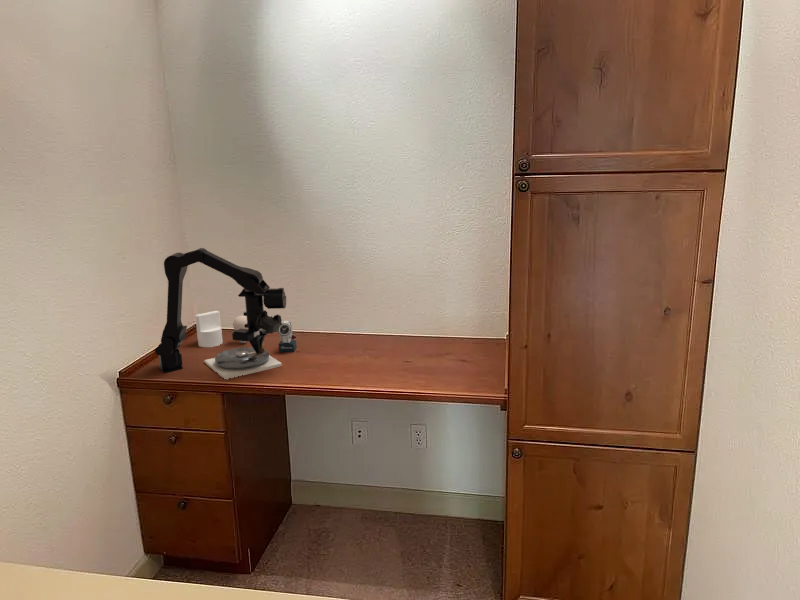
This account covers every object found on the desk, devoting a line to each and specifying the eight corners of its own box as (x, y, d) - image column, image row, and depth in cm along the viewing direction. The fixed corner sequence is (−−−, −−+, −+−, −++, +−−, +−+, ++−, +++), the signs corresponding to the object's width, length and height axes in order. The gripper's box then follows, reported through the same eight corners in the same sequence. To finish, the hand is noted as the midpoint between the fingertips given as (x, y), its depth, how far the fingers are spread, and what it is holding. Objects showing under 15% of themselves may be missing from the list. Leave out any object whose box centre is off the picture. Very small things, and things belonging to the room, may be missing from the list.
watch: (277, 353, 219) (275, 324, 216) (283, 346, 227) (281, 318, 224) (292, 353, 219) (291, 324, 216) (298, 346, 226) (296, 318, 224)
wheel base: (225, 379, 195) (224, 375, 195) (204, 362, 211) (204, 358, 211) (281, 366, 207) (281, 361, 206) (258, 350, 222) (258, 347, 222)
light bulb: (254, 340, 234) (252, 313, 231) (248, 346, 228) (246, 318, 225) (238, 340, 235) (235, 313, 232) (232, 346, 228) (229, 318, 226)
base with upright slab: (204, 348, 226) (201, 318, 223) (194, 343, 232) (191, 313, 229) (226, 343, 232) (224, 313, 229) (216, 338, 238) (213, 309, 235)
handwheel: (226, 373, 196) (224, 354, 195) (207, 358, 210) (206, 340, 209) (277, 360, 206) (276, 342, 205) (256, 347, 221) (255, 330, 219)
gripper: (257, 318, 190) (261, 365, 193) (290, 304, 206) (293, 347, 210) (229, 315, 194) (233, 360, 198) (263, 301, 210) (267, 343, 214)
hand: (258, 353), depth 205 cm, fingers closed
